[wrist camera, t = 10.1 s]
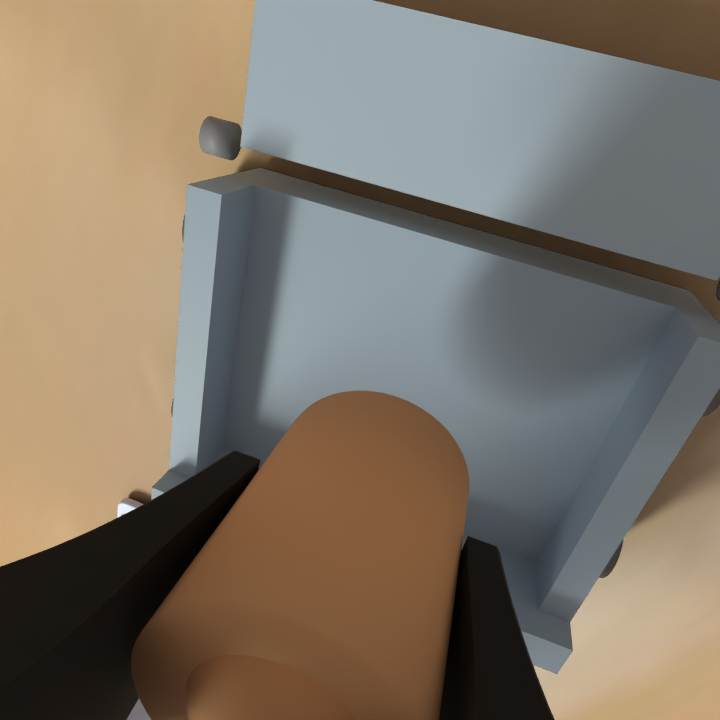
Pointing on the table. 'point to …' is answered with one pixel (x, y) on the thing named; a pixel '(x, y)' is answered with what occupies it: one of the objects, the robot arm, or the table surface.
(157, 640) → the tan hollow cylinder
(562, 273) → the box
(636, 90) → the panel
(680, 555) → the table surface
